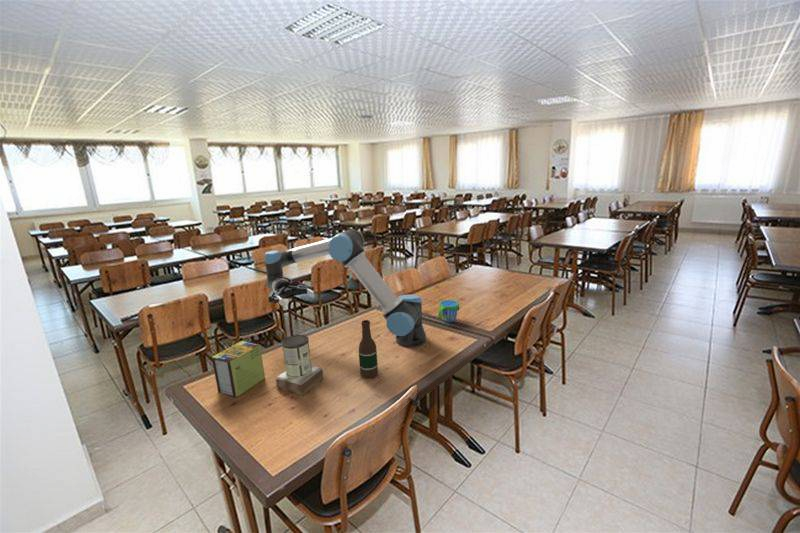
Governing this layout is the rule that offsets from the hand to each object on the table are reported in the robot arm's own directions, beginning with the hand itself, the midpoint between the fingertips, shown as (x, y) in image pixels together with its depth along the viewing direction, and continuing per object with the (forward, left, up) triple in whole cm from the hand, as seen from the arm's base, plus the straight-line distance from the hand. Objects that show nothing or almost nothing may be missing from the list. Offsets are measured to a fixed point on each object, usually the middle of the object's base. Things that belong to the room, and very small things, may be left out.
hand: (298, 298), depth 157 cm
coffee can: (-7, +12, -27) cm, 30 cm away
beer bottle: (-30, -4, -32) cm, 44 cm away
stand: (-7, +12, -31) cm, 34 cm away
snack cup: (-43, -70, -32) cm, 88 cm away
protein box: (+15, +22, -32) cm, 41 cm away
